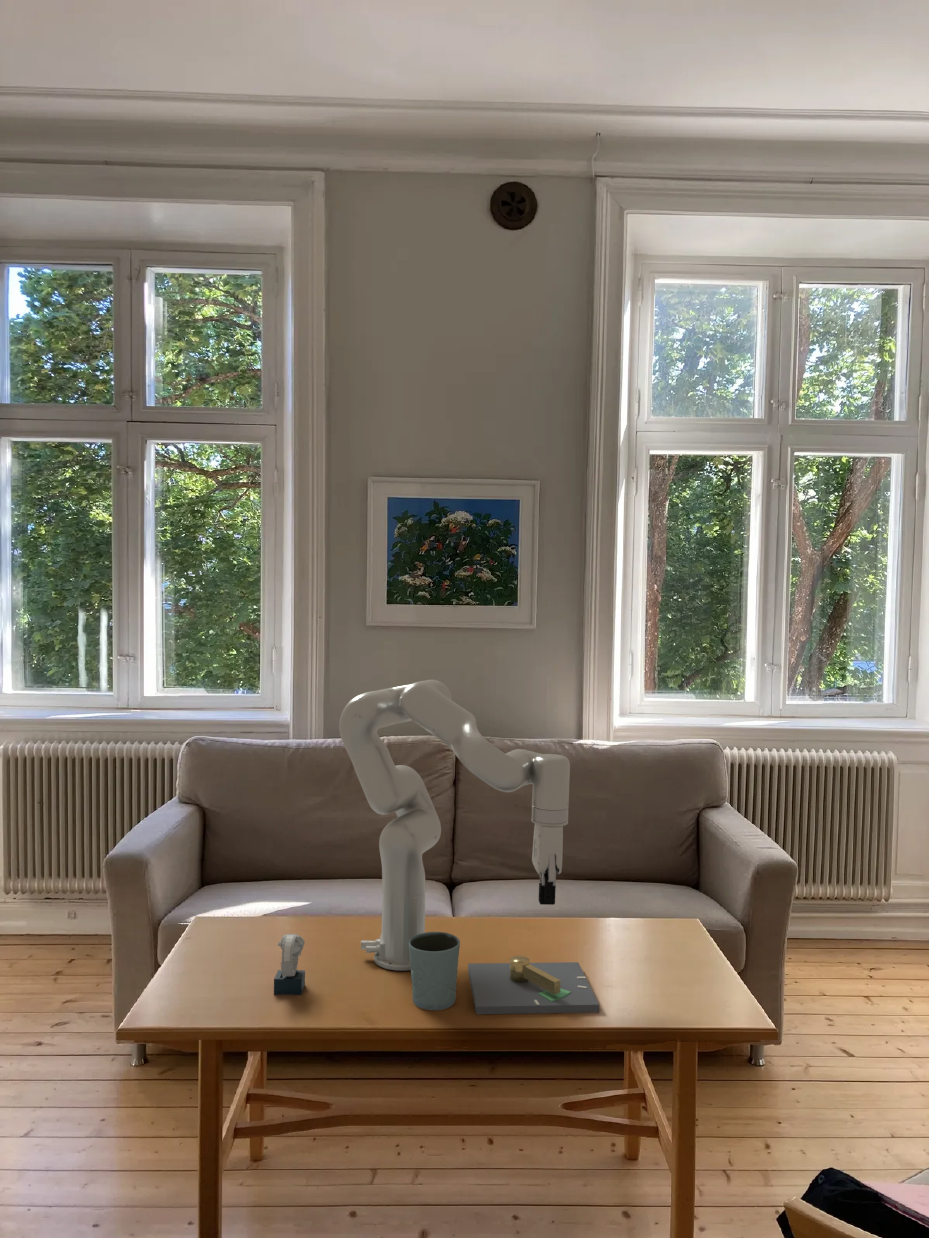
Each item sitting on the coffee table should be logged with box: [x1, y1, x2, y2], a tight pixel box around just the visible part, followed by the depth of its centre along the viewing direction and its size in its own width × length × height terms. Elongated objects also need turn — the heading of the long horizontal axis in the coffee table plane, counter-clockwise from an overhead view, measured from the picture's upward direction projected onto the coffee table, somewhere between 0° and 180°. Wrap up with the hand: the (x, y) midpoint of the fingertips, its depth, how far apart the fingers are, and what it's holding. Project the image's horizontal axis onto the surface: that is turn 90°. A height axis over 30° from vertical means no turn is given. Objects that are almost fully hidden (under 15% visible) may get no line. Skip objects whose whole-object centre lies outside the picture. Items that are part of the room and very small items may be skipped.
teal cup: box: [409, 931, 461, 1011], centre depth 174 cm, size 10×10×12 cm
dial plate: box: [467, 961, 600, 1015], centre depth 180 cm, size 24×20×2 cm
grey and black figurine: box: [273, 933, 306, 996], centre depth 178 cm, size 6×8×11 cm
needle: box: [509, 955, 561, 994], centre depth 178 cm, size 14×4×4 cm, turn 36°
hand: (546, 902), depth 181 cm, fingers closed
